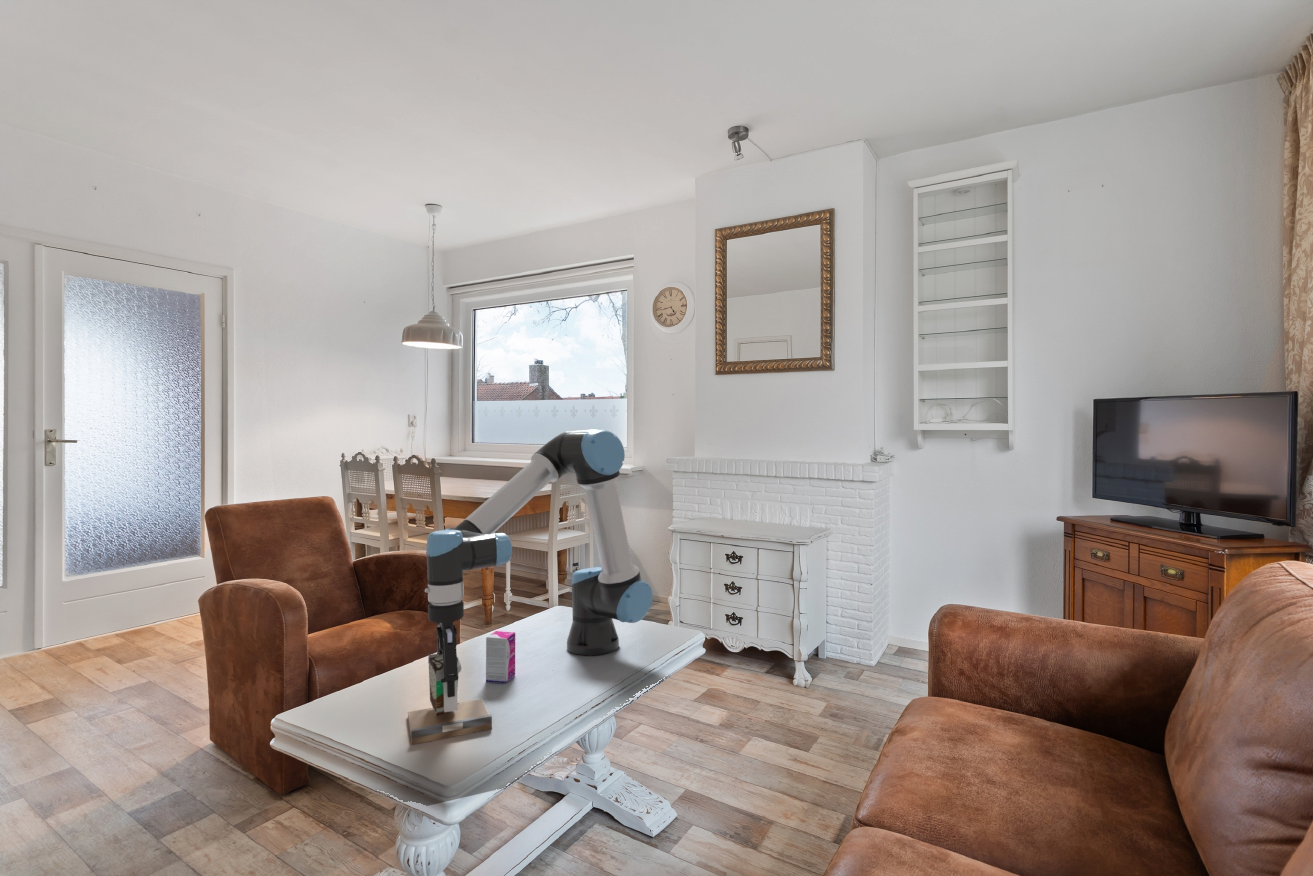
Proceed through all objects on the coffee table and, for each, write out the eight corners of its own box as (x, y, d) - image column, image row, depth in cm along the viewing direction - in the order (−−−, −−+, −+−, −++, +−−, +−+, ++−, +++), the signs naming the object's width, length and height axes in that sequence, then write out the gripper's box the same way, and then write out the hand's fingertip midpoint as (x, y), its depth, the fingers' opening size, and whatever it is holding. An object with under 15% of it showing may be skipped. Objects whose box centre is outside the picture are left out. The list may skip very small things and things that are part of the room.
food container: (467, 712, 139) (466, 666, 139) (437, 719, 136) (436, 671, 136) (456, 692, 150) (456, 649, 150) (428, 698, 147) (428, 654, 147)
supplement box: (507, 684, 162) (506, 638, 162) (485, 682, 163) (484, 637, 163) (516, 675, 168) (515, 631, 168) (495, 674, 169) (494, 630, 169)
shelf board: (481, 704, 150) (481, 692, 150) (492, 729, 137) (491, 716, 137) (407, 717, 143) (407, 705, 143) (411, 745, 130) (411, 731, 130)
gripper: (423, 591, 152) (425, 684, 152) (432, 617, 130) (434, 725, 130) (457, 588, 155) (458, 679, 155) (470, 612, 133) (472, 718, 133)
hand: (447, 700), depth 143 cm, fingers closed on food container, 11 cm apart
